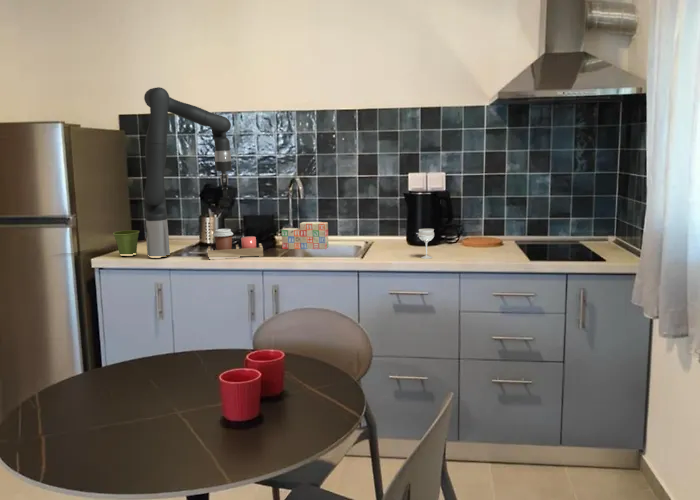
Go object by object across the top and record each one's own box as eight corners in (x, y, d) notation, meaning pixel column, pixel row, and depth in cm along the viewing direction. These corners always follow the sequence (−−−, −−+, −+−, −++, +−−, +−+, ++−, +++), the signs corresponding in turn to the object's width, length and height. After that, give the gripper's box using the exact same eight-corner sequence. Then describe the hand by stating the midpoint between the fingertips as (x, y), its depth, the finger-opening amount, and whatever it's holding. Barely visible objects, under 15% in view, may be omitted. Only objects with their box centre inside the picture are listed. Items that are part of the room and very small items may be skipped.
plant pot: (109, 257, 304) (106, 233, 302) (128, 253, 314) (126, 229, 312) (127, 259, 298) (125, 234, 296) (147, 254, 309) (145, 230, 307)
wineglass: (422, 259, 276) (421, 231, 274) (416, 256, 282) (415, 229, 280) (437, 258, 278) (436, 230, 276) (430, 255, 284) (430, 228, 282)
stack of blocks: (282, 249, 313) (280, 223, 311) (285, 247, 319) (284, 221, 317) (325, 249, 309) (324, 223, 307) (328, 247, 315) (328, 221, 313)
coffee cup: (236, 256, 296) (235, 230, 294) (216, 258, 293) (214, 231, 290) (232, 253, 304) (230, 227, 302) (212, 255, 301) (210, 229, 299)
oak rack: (208, 255, 302) (208, 246, 302) (261, 251, 307) (260, 243, 306) (208, 260, 289) (207, 251, 289) (263, 256, 294) (262, 247, 293)
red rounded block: (239, 255, 299) (238, 238, 298) (249, 253, 304) (248, 236, 303) (249, 256, 295) (248, 238, 294) (259, 254, 301) (258, 236, 299)
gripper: (215, 160, 315) (217, 196, 318) (214, 161, 303) (217, 198, 305) (231, 159, 317) (233, 195, 320) (231, 160, 304) (233, 198, 307)
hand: (225, 197), depth 313 cm, fingers closed
